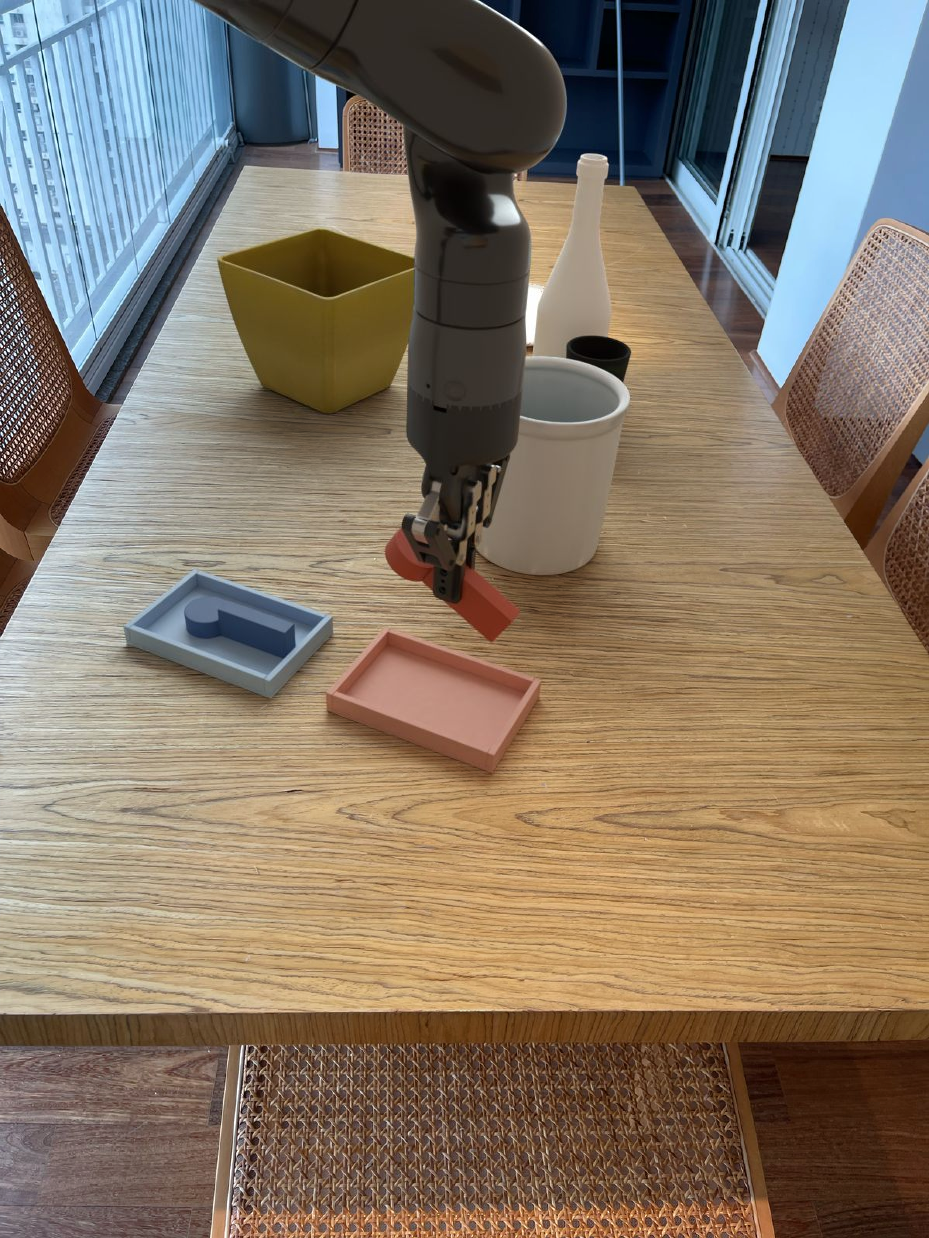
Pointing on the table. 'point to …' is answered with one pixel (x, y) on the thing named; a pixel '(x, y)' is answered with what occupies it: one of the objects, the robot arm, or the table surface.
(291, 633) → the spoon blue
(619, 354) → the cup
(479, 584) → the spoon red
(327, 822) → the table surface
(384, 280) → the flower pot
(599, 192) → the wine bottle
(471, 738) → the tray pink
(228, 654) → the tray blue
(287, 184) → the table surface
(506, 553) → the utensil holder
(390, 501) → the table surface
